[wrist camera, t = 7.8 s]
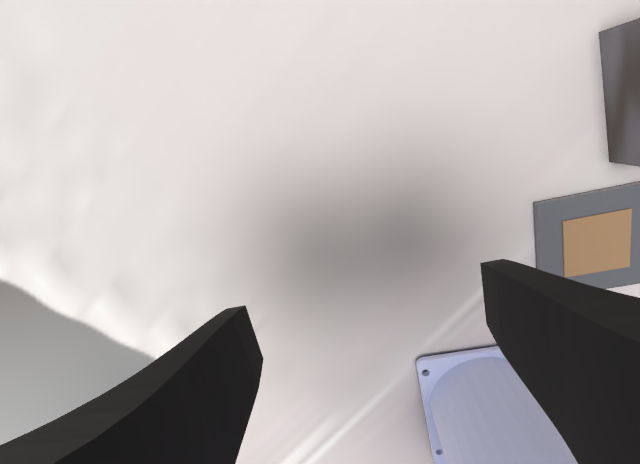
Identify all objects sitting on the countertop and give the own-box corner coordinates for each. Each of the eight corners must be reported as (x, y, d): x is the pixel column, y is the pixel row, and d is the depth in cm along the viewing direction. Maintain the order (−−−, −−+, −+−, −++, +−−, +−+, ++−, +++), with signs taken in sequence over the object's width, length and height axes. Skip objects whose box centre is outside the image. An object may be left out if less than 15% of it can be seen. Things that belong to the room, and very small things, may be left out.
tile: (645, 278, 20) (652, 282, 20) (538, 295, 21) (542, 300, 20) (650, 179, 18) (658, 181, 18) (533, 202, 19) (538, 204, 19)
